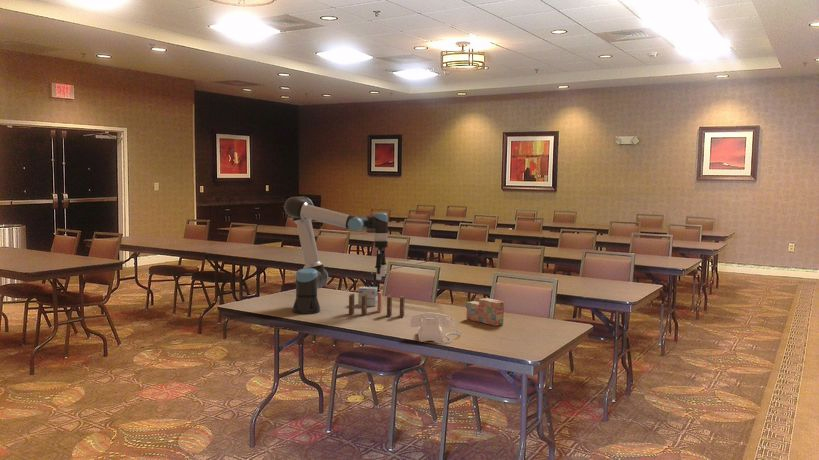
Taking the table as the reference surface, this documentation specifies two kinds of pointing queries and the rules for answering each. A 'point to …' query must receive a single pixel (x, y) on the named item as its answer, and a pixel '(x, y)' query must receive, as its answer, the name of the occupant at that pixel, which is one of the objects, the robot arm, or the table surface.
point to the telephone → (432, 327)
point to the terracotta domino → (379, 302)
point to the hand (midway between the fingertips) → (380, 278)
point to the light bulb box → (368, 295)
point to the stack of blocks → (486, 311)
